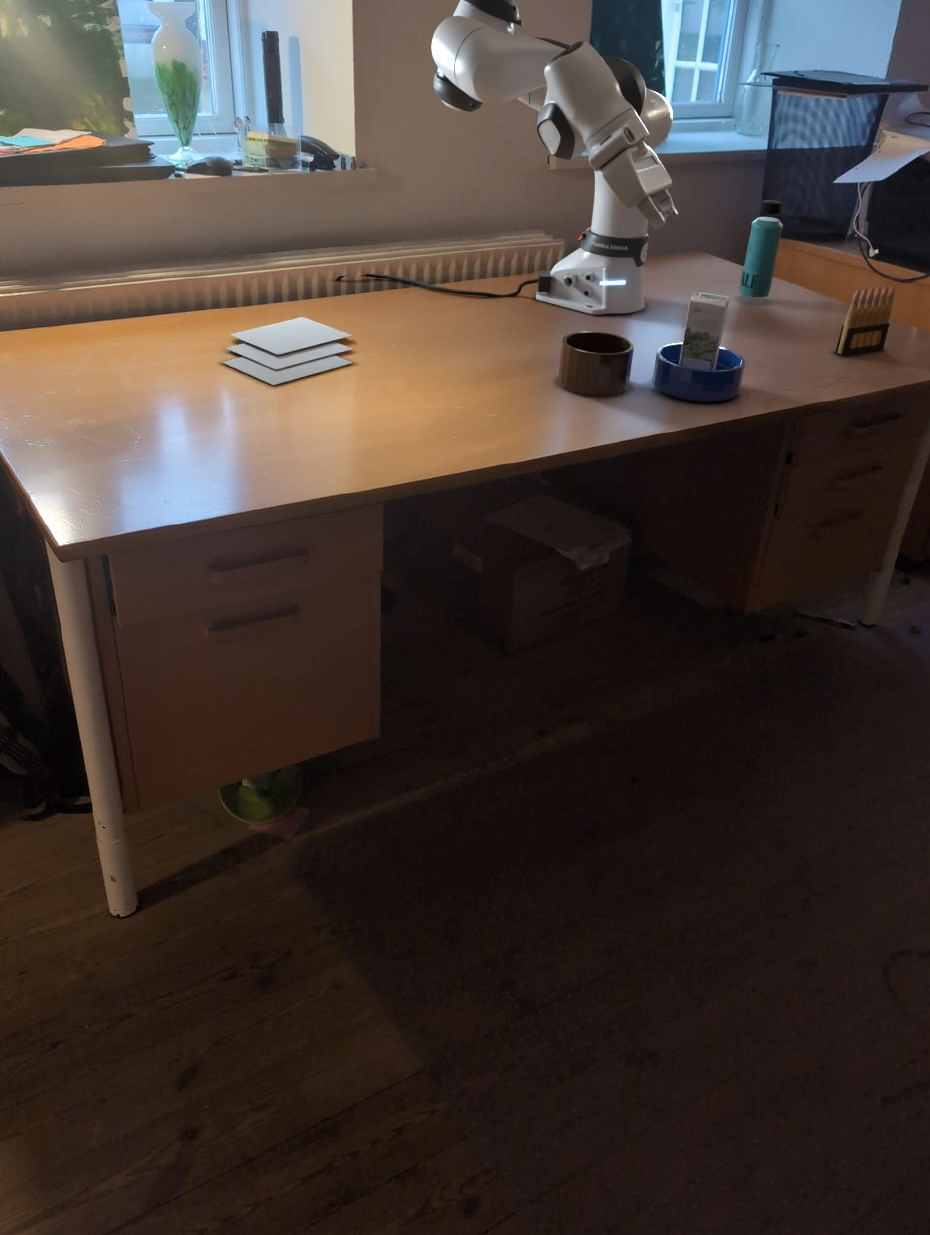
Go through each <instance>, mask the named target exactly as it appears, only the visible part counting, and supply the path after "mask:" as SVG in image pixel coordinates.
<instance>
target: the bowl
mask: <svg viewBox="0 0 930 1235" xmlns="http://www.w3.org/2000/svg"><path fill="white" fill-rule="evenodd" d="M682 343H683V342H675V343H668V344H665V345H662V346H660V347H659V348H658V349H657V350H656V354H655V362H654V368H653V375H652V380H651V382H652V384H653V386H654V387H655V388H656V389H657V390H659V391H660V392H662V393H664V394H665V395H666V396H669V397H672V398H674V399H678V400H682V401H687V402H693V403H694V402H696V403H718V402H722V401H726V400H730V399H732V398H735V397H736V396H737V395H738V394H739V393H740V390H741V385H742V380H743V376H744V370H745V365H746V360H745V358H744V357H743V356H742V355H741V354H739V353H737V352H736V351H734V350H731V349H728V348H726V347H723V346H720V348H719V353H718V359H717V364H716V371H714V370H699V369H692V368H687V367H683V366H679V361H680V355H681V349H682Z"/></svg>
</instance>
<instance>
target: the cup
mask: <svg viewBox="0 0 930 1235" xmlns="http://www.w3.org/2000/svg"><path fill="white" fill-rule="evenodd" d="M634 351H635V344H634V343H633V342H632V340H630V339H629V338H627V337H625V336H621V335H618V334H615V333H609V332H603V331H577V332H576V331H575V332H572V333H569V334H567V335H564V337H563V338H562V340H561V348H560V358H559V368H558V376H557V382H558V384H559V386H560V387H561V388H562V389H564V390H566V391H567V392H570V393H573V394H576V395H579V396H580V395H581V396H585V397H593V398H594V397H596V398H607V397H609V398H610V397H616V396H619V395H623V394H624V393H626V392H627V391H628V390H629V386H630V380H631V379H630V378H631V371H632V364H633V357H634Z"/></svg>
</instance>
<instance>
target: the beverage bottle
mask: <svg viewBox="0 0 930 1235" xmlns="http://www.w3.org/2000/svg"><path fill="white" fill-rule="evenodd" d="M759 212H760V213H762V214H763V213H764V214H767V215H780V214H781V212H782V202H781V201H778V200H771V199H766V200H765V199H764V200H762V201H761V204H760V207H759ZM783 228H784V226H783V223H782V222H781V220H780V219H779V218H776V217H770V216H759V217H757V218H756V219H755V220H753V221H752V222H751V228H750V234H749V237H748V241H747V244H746V245H747V246H746V253H745V260H744V264H743V269H742V271H741V277H740V282H739V294H740V295H743V296H747V297H751V298H766V297H768V296H769V294H770V292H771V290H772V285H773V279H774V274H775V273H774V271H775V268H776V262H777V261H776V260H777V255H778V251H779V246H780V241H781V235H782V231H783Z"/></svg>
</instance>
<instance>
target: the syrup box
mask: <svg viewBox="0 0 930 1235" xmlns="http://www.w3.org/2000/svg"><path fill="white" fill-rule="evenodd" d="M729 303H730V296H729V295H721V294H714V293H707V292H698V291H695V292H694V293H692V295H691V297H690V299H689V303H688V308H687V314H686V320H685V327H684V332H683V339H682V342H681V343H682V349H681V355H680V361H679V366H683V367H687V368H692V369H699V370H714V371H716V364H717V359H718V353H719V348H720V347H721V343H722V337H723V334H724V328H725V323H726V319H727V313H728V307H729Z"/></svg>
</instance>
